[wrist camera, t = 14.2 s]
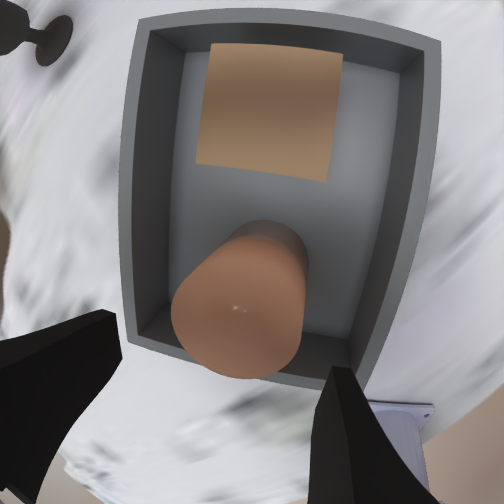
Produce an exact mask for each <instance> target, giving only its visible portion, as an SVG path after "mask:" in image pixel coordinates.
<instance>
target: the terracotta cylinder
mask: <svg viewBox="0 0 504 504" xmlns="http://www.w3.org/2000/svg"><path fill="white" fill-rule="evenodd" d="M308 268H309V259H308V253H307V250H306V247H305V245H304V243H303V242H302V240H301V239H300V237H299V236H298V235H297V234H296V233H295V232H294V231H293V230H292V229H290V228H289V227H287V226H285V225H284V224H281V223H279V222H275V221H271V220H256V221H252V222H248V223H246V224H244V225H242V226H240V227H239V228H238V229H236V230H235V231H234V232H233V233H232V234H231V235H230V236H229V237H228V238H227V239H226V240H225V241H224V242H223V243H222V244H221V245H220V246H219V247H218V248H217V249H216V250H215V251H214V252H212V253H211V254H210V255H209V256H208V257H207V258H206V259H205V260H204V261H203V262H202V263H201V264H200V265H199V266H198V267H197V268H196V269H195V270H194V271H193V272H192V273H191V274H190V275H189V276H188V277H187V278H186V279H185V280H184V281H183V282H182V284H181V285H180V286H179V287H178V289H177V291H176V292H175V295H174V297H173V301H172V305H171V320H172V325H173V328H174V331H175V334H176V336H177V338H178V340H179V342H180V343H181V345H182V346H183V348H184V349H185V350H186V351H187V352H188V354H189V355H190V356H191V357H192V358H194V359H195V360H196V361H197V362H198V363H200V364H201V365H203V366H204V367H206V368H208V369H210V370H211V371H213V372H216V373H218V374H221V375H224V376H227V377H232V378H239V379H254V378H261V377H265V376H268V375H271V374H273V373H275V372H277V371H279V370H280V369H282V368H283V367H285V366H286V365H287V364H288V363H289V362H290V361H291V360H292V358H293V357H294V356H295V354H296V352H297V350H298V348H299V345H300V341H301V335H302V327H303V318H304V309H305V299H306V290H307V279H308Z"/></svg>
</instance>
